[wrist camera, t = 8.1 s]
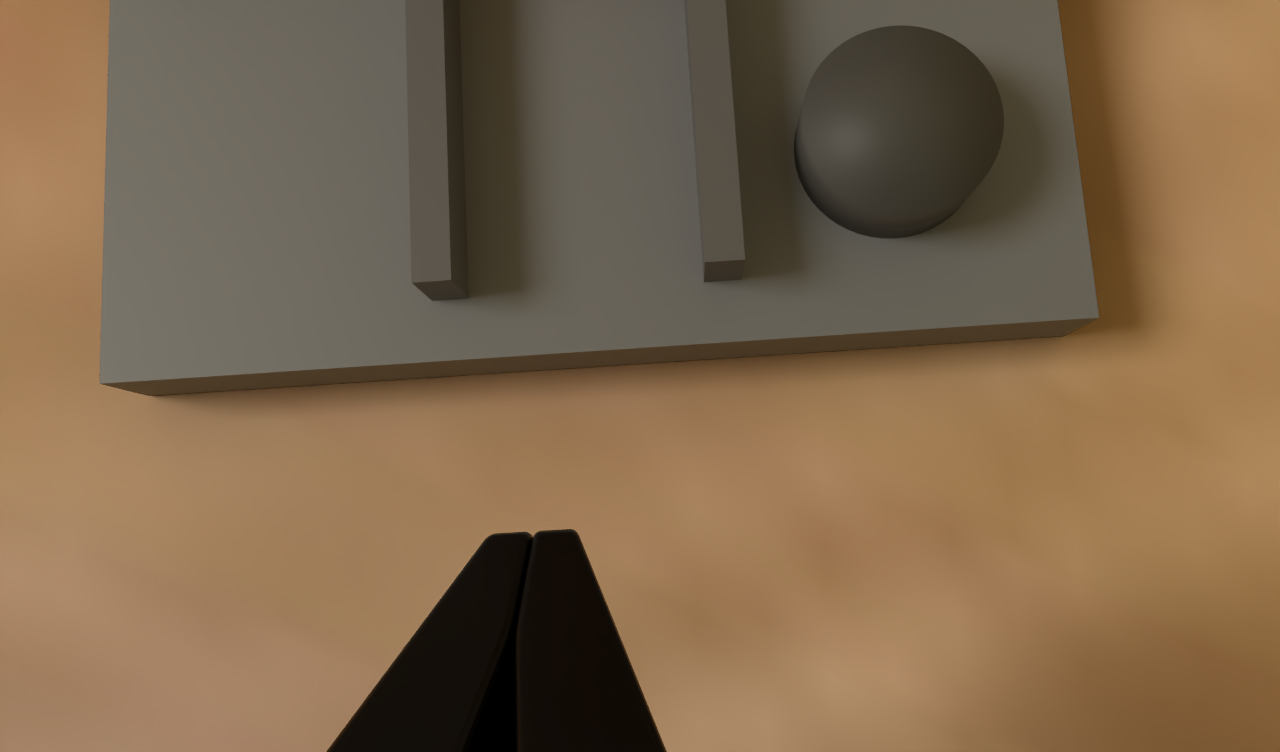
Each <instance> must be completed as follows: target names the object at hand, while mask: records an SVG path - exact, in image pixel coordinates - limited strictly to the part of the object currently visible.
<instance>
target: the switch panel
mask: <svg viewBox="0 0 1280 752" xmlns="http://www.w3.org/2000/svg"><path fill="white" fill-rule="evenodd" d="M1097 318H1099V312H1098V305H1097V297H1096V290H1095V282H1094V274H1093V267H1092V259H1091V252H1090V244H1089V237H1088V229H1087V221H1086V214H1085V206H1084V199H1083V191H1082V183H1081V176H1080V168H1079V161H1078V153H1077V146H1076V138H1075V130H1074V123H1073V115H1072V108H1071V100H1070V92H1069V85H1068V77H1067V70H1066V62H1065V55H1064V47H1063V39H1062V32H1061V24H1060V17H1059V9H1058V1H1057V0H110V16H109V53H108V90H107V128H106V165H105V202H104V239H103V276H102V314H101V351H100V384H103V385H107V386H111V387H115V388H119V389H123V390H127V391H131V392H135V393H139V394H143V395H147V396H156V395H172V394H187V393H202V392H217V391H233V390H248V389H263V388H278V387H294V386H309V385H324V384H339V383H355V382H370V381H385V380H401V379H416V378H431V377H446V376H462V375H477V374H492V373H507V372H523V371H538V370H553V369H568V368H584V367H599V366H614V365H630V364H645V363H660V362H675V361H691V360H706V359H721V358H736V357H752V356H767V355H782V354H798V353H813V352H828V351H843V350H859V349H874V348H889V347H904V346H920V345H935V344H950V343H965V342H981V341H996V340H1011V339H1027V338H1042V337H1057V336H1065V335H1067V334H1069V333H1071V332H1073V331H1075V330H1076V329H1078V328H1080V327H1082V326H1084V325H1086V324H1088V323H1090V322H1092V321H1094V320H1096V319H1097Z"/></svg>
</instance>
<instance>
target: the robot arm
mask: <svg viewBox="0 0 1280 752" xmlns="http://www.w3.org/2000/svg"><path fill="white" fill-rule="evenodd" d="M327 752H667V751H666V749H665V747H664V744H663V742H662V739H661V737H660V734H659V732H658V729H657V727H656V724H655V722H654V719H653V717H652V714H651V712H650V710H649V707H648V705H647V702H646V700H645V697H644V695H643V692H642V690H641V687H640V685H639V682H638V680H637V678H636V675H635V673H634V670H633V668H632V665H631V663H630V660H629V658H628V655H627V653H626V650H625V648H624V645H623V643H622V641H621V638H620V636H619V633H618V631H617V628H616V626H615V623H614V621H613V618H612V616H611V613H610V611H609V608H608V606H607V604H606V601H605V599H604V596H603V594H602V591H601V589H600V586H599V584H598V581H597V579H596V576H595V574H594V571H593V569H592V567H591V564H590V562H589V559H588V557H587V554H586V552H585V549H584V547H583V544H582V542H581V539H580V537H579V535H578V533H577V532H576V531H575V530H572V529H566V530H548V531H539V532H537V533H536V534H535V535H534V537H533V536H532V535H531V534H529V533H528V532H515V533H498V534H492V535H490V536H489V537H487V538H486V539H485V540H484V542H483V543H482V544H481V546H480V547H479V548H478V550H477V551H476V552H475V554H474V555H473V556H472V558H471V559H470V560H469V562H468V563H467V564H466V566H465V567H464V568H463V570H462V571H461V572H460V574H459V575H458V576H457V578H456V579H455V580H454V582H453V583H452V584H451V586H450V587H449V588H448V590H447V591H446V592H445V594H444V595H443V597H442V598H441V599H440V601H439V602H438V603H437V605H436V606H435V607H434V609H433V610H432V611H431V613H430V614H429V615H428V617H427V618H426V619H425V621H424V622H423V623H422V625H421V626H420V627H419V629H418V630H417V631H416V633H415V634H414V635H413V637H412V638H411V639H410V641H409V642H408V643H407V645H406V646H405V647H404V649H403V650H402V651H401V653H400V654H399V655H398V657H397V658H396V659H395V661H394V662H393V663H392V665H391V666H390V667H389V669H388V670H387V671H386V673H385V674H384V675H383V677H382V678H381V679H380V681H379V682H378V683H377V685H376V686H375V687H374V689H373V690H372V691H371V693H370V694H369V695H368V697H367V698H366V699H365V701H364V702H363V704H362V705H361V706H360V708H359V709H358V710H357V712H356V713H355V714H354V716H353V717H352V718H351V720H350V721H349V722H348V724H347V725H346V726H345V728H344V729H343V730H342V732H341V733H340V734H339V736H338V737H337V738H336V740H335V741H334V742H333V744H332V745H331V746H330V748H329V749H328V750H327Z"/></svg>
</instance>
